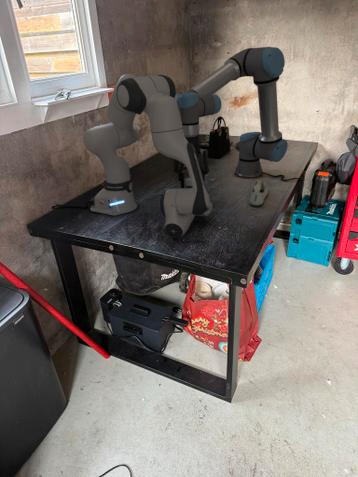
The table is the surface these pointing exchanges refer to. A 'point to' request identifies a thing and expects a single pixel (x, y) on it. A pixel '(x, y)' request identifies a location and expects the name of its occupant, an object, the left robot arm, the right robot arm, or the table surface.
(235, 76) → the right robot arm
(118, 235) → the table surface
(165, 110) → the left robot arm
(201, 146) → the pair of gloves
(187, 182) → the lid
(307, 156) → the table surface
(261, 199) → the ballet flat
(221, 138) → the handbag
